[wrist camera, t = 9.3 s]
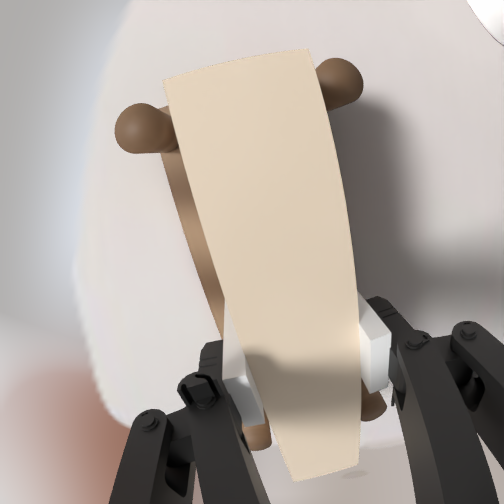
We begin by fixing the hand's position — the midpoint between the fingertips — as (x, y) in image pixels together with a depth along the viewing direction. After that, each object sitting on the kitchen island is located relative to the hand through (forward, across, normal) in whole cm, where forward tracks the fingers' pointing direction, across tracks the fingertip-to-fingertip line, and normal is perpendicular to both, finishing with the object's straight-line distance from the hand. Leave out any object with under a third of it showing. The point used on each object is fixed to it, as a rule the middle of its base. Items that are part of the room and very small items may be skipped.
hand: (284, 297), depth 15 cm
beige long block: (+1, 0, 0) cm, 1 cm away
